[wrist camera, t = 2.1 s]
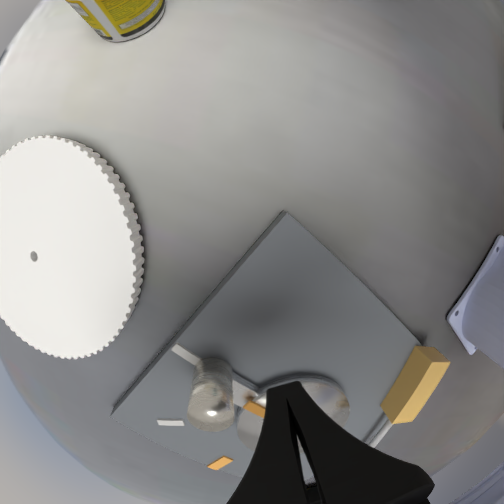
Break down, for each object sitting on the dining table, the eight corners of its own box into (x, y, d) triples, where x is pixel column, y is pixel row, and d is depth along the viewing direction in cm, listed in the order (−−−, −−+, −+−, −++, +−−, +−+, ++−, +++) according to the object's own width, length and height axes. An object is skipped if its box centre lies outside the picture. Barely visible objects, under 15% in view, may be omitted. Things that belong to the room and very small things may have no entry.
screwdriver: (415, 345, 17) (432, 362, 15) (434, 347, 18) (450, 362, 15) (348, 448, 20) (355, 466, 17) (367, 446, 20) (376, 463, 18)
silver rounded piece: (363, 398, 18) (384, 434, 14) (291, 454, 19) (299, 489, 15) (239, 318, 15) (242, 359, 11) (163, 395, 16) (153, 439, 12)
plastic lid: (186, 187, 15) (178, 188, 13) (118, 370, 17) (107, 391, 15) (22, 118, 13) (1, 113, 10) (-12, 286, 15) (-30, 296, 13)
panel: (283, 210, 15) (288, 212, 14) (436, 362, 20) (444, 370, 18) (113, 407, 18) (109, 418, 17) (287, 481, 22) (289, 491, 21)
